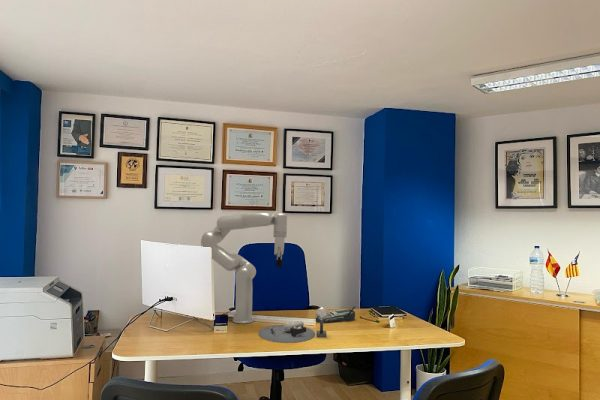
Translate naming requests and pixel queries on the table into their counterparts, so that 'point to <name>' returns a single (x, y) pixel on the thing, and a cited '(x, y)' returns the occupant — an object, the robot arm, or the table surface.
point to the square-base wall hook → (321, 322)
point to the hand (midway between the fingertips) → (279, 266)
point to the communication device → (339, 316)
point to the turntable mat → (284, 335)
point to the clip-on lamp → (293, 328)
